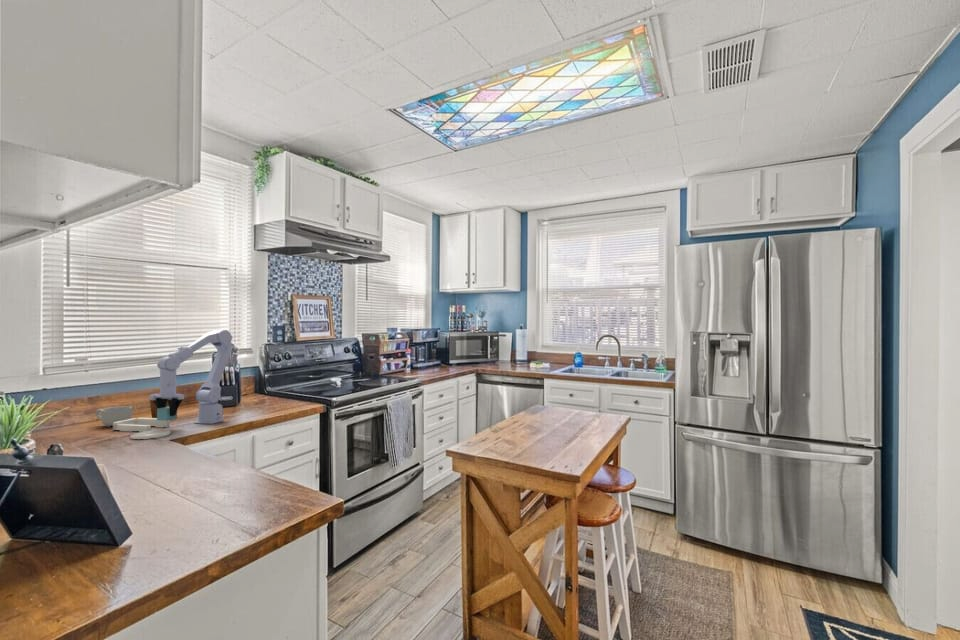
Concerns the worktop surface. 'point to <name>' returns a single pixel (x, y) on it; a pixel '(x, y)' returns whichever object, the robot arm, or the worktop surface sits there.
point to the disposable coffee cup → (154, 408)
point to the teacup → (114, 414)
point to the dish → (151, 434)
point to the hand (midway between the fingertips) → (167, 415)
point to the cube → (165, 414)
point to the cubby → (139, 424)
